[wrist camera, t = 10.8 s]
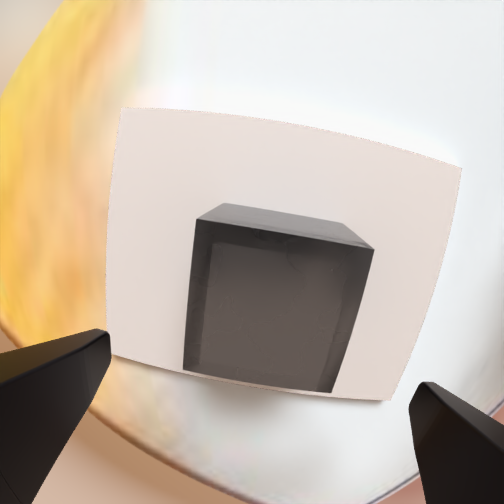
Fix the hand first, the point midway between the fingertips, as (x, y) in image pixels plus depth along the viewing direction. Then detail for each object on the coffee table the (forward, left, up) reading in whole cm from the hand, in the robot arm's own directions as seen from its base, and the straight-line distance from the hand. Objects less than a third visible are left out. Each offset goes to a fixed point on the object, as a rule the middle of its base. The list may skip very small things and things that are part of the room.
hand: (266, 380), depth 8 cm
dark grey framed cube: (0, 0, -10) cm, 10 cm away
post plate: (0, 0, -11) cm, 11 cm away
